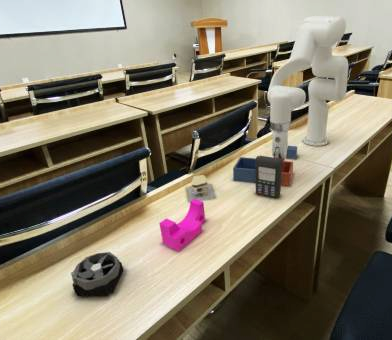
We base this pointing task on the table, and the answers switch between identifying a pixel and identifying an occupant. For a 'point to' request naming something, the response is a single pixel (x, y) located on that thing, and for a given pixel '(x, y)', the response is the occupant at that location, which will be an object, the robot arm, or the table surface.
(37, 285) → the table surface
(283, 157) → the terracotta block
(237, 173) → the slate bin
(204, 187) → the stacked layers on plate
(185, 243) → the toy block
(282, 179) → the terracotta bin
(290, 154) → the slate block
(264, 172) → the card reader
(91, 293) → the cpu cooler
